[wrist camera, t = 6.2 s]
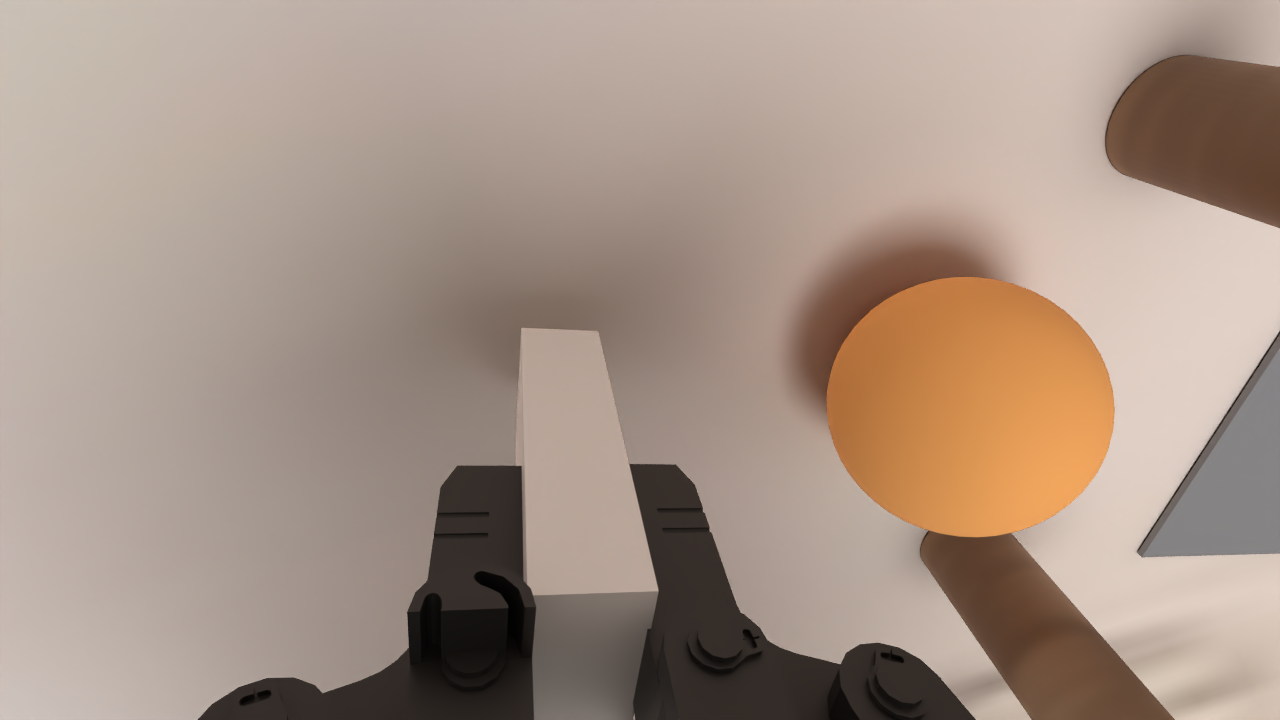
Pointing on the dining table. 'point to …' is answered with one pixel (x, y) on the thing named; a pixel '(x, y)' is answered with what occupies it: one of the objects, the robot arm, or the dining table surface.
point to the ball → (970, 407)
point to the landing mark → (1231, 481)
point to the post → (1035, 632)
